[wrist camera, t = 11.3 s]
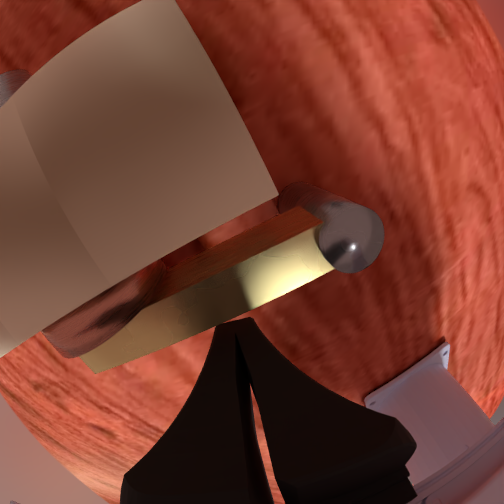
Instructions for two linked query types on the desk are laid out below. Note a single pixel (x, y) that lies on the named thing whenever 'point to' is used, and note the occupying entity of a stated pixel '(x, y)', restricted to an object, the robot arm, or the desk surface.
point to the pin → (104, 304)
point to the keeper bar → (249, 271)
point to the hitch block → (115, 164)
